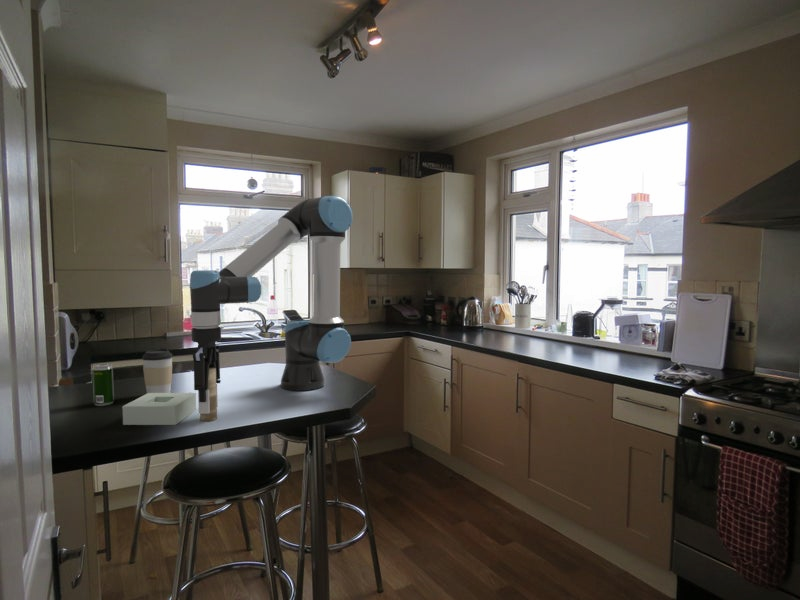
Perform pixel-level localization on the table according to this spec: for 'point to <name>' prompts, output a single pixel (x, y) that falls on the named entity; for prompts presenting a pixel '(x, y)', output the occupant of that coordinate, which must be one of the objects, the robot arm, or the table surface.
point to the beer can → (103, 384)
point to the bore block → (159, 409)
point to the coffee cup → (157, 371)
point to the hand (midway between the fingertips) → (208, 409)
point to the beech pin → (211, 397)
